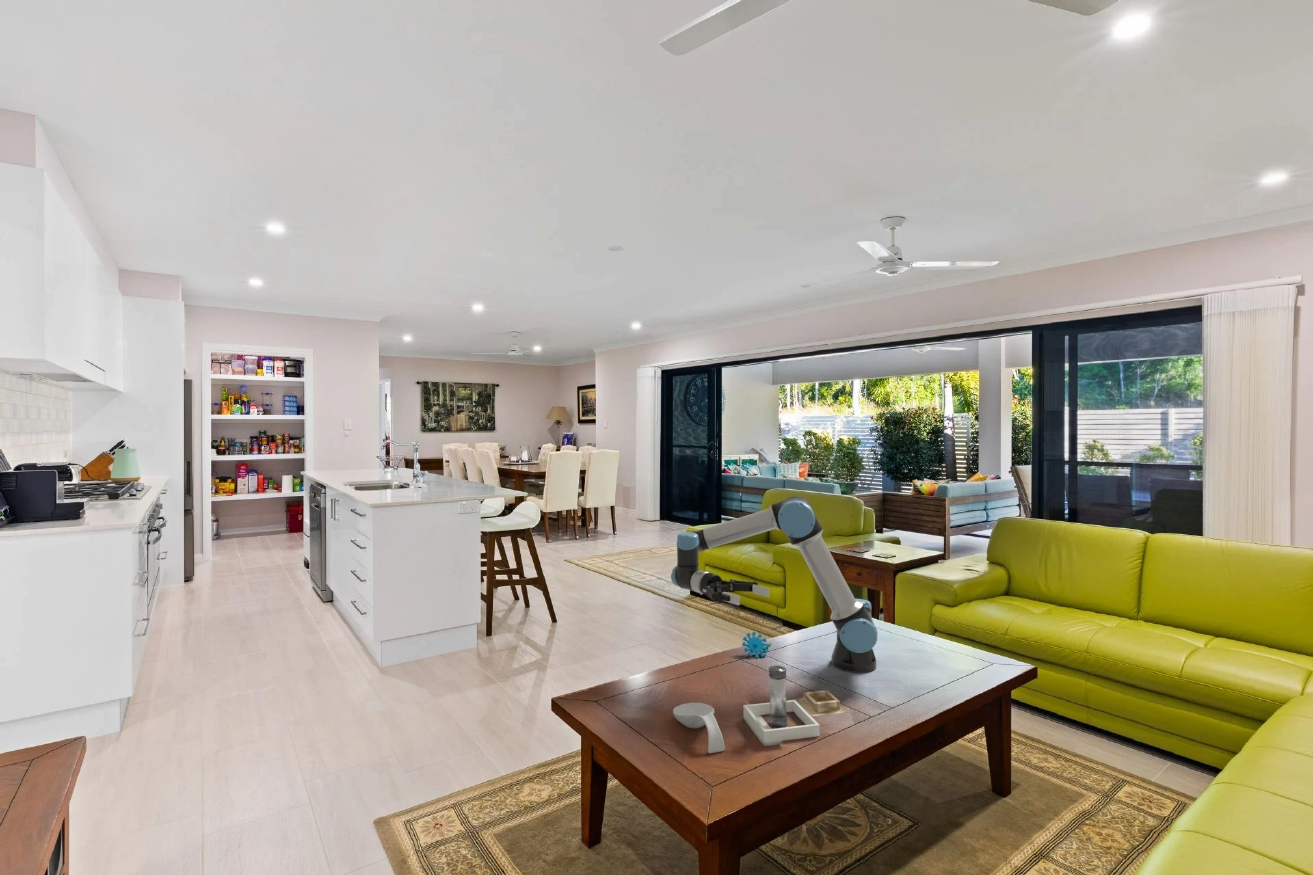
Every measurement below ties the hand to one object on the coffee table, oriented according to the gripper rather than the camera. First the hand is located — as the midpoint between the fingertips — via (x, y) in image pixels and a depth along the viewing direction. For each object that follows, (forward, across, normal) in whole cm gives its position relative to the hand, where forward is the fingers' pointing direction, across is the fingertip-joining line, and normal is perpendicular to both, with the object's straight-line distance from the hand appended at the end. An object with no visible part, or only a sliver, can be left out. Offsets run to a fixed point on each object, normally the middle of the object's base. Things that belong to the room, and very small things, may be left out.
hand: (754, 596), depth 201 cm
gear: (-24, -27, -32) cm, 48 cm away
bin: (+19, +10, -32) cm, 38 cm away
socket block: (+19, -9, -32) cm, 38 cm away
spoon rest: (+6, +29, -32) cm, 43 cm away
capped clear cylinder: (+18, +10, -31) cm, 37 cm away
